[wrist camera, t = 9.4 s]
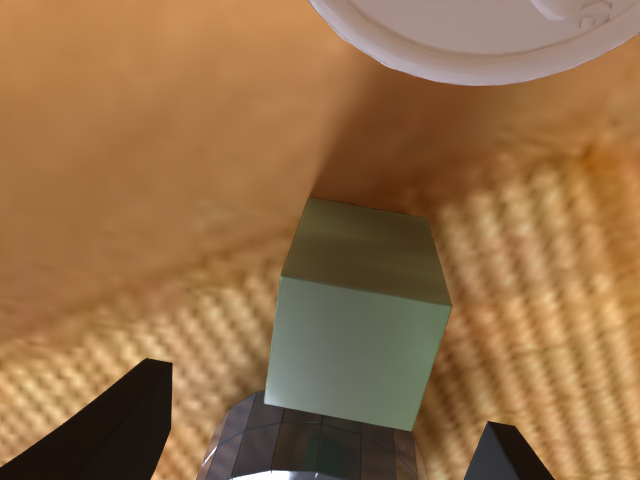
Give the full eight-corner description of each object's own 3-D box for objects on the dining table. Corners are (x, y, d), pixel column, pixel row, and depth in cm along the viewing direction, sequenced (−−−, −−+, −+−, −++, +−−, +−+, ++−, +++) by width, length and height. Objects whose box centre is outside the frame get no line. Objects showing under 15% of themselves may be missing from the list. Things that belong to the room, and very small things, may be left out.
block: (428, 217, 18) (453, 305, 12) (401, 317, 19) (412, 432, 14) (308, 196, 18) (280, 274, 12) (293, 298, 20) (263, 404, 14)
